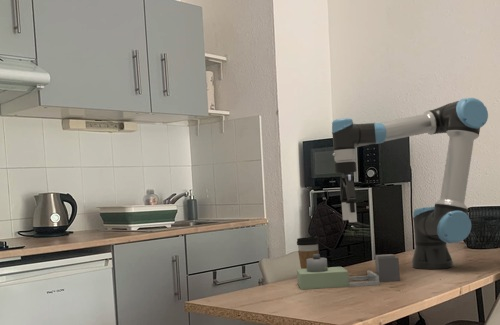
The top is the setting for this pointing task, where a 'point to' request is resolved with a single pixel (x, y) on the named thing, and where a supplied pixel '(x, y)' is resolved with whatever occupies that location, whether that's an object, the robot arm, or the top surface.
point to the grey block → (387, 267)
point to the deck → (321, 275)
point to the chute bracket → (371, 276)
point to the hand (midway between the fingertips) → (349, 221)
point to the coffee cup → (307, 249)
